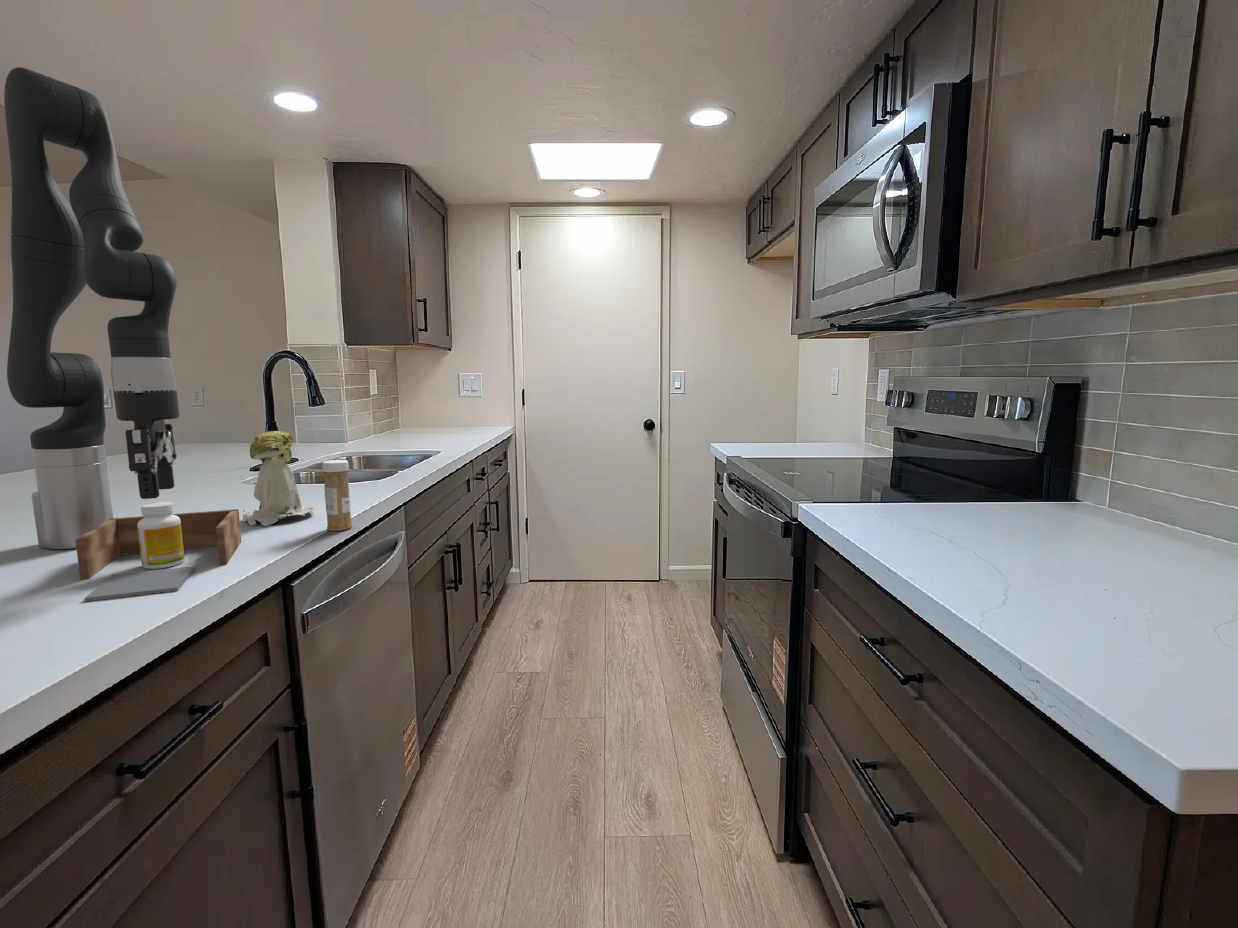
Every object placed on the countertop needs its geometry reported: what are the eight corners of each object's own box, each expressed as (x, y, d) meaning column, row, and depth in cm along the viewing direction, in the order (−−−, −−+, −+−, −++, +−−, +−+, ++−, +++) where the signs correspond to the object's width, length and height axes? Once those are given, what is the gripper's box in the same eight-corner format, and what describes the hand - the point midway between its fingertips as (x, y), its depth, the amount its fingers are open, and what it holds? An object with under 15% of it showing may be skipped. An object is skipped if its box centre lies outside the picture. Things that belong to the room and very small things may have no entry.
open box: (115, 553, 98) (110, 518, 97) (241, 541, 105) (238, 509, 104) (80, 579, 85) (75, 539, 84) (226, 564, 93) (223, 527, 92)
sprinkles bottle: (355, 528, 115) (351, 461, 113) (331, 532, 112) (326, 463, 110) (347, 524, 118) (343, 458, 116) (323, 528, 115) (318, 460, 113)
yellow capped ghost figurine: (327, 515, 126) (321, 430, 123) (268, 528, 115) (260, 435, 112) (291, 509, 131) (285, 427, 129) (231, 521, 120) (223, 432, 117)
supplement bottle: (193, 561, 94) (187, 502, 93) (157, 571, 89) (150, 509, 88) (169, 557, 96) (163, 499, 95) (133, 567, 91) (126, 506, 90)
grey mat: (112, 577, 86) (112, 574, 86) (194, 569, 90) (194, 566, 90) (85, 601, 77) (84, 597, 77) (177, 590, 81) (177, 587, 81)
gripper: (130, 388, 94) (142, 488, 96) (95, 389, 81) (111, 504, 83) (187, 387, 97) (198, 484, 99) (162, 388, 84) (175, 499, 86)
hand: (158, 493), depth 91 cm, fingers open, 8 cm apart
